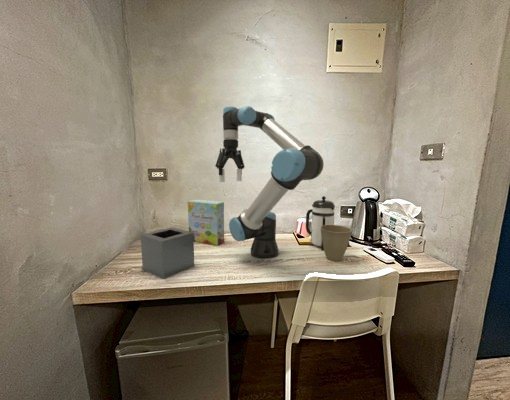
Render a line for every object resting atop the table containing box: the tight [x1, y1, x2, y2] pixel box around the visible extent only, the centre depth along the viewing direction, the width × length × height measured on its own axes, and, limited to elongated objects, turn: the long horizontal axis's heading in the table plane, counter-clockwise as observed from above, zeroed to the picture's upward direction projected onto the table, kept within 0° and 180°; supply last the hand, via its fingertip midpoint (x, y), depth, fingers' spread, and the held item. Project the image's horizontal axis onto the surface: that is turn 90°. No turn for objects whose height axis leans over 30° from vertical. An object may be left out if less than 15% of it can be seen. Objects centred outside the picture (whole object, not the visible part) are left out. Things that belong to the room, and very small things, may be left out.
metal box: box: [140, 227, 195, 280], centre depth 102 cm, size 16×16×16 cm
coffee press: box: [305, 195, 336, 251], centre depth 132 cm, size 17×16×30 cm
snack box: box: [187, 199, 225, 247], centre depth 138 cm, size 22×9×26 cm, turn 67°
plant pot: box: [321, 224, 353, 262], centre depth 114 cm, size 15×15×16 cm
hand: (231, 181), depth 116 cm, fingers open, 13 cm apart
